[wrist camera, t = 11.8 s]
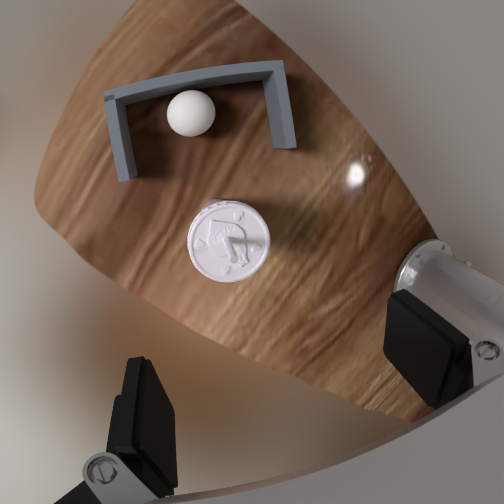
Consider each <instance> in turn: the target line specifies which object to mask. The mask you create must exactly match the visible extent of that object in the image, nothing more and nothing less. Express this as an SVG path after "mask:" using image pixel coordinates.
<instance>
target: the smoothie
mask: <svg viewBox="0 0 504 504" xmlns="http://www.w3.org/2000/svg"><path fill="white" fill-rule="evenodd" d="M269 248H270V234H269V230H268V227H267V225H266V223H265V221H264V220H263V218H262V216H261V215H260V214H259V213H258V212H257V211H256V210H255V209H254V208H252V207H250V206H249V205H247V204H245V203H241V202H238V201H225V200H222V199H214V200H211V201H209V202H207V203H206V204H205V205H204V206H203V208H202V210H201V212H200V213H199V214H198V215H197V216H196V218H195V219H194V221H193V223H192V224H191V226H190V230H189V233H188V250H189V254H190V257H191V260H192V262H193V263H194V265H195V267H196V268H197V269H198V270H199V271H200V272H201V273H202V274H204V275H205V276H207V277H208V278H210V279H213V280H216V281H220V282H235V281H239V280H243V279H245V278H247V277H249V276H251V275H252V274H253V273H255V272H256V271H257V270H258V269H259V268H260V267H261V266H262V264H263V263H264V261H265V260H266V258H267V255H268V252H269Z"/></svg>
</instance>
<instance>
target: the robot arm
mask: <svg viewBox="0 0 504 504" xmlns="http://www.w3.org/2000/svg"><path fill="white" fill-rule="evenodd" d="M471 267H472V263H471V261H469V260H467V261H465V262H461V261H459V260H457V259H455V258H454V254H453V251H452V249H451V248H450V246H449V245H448V244H447V243H446V242H444V241H442V240H439V239H428V240H425V241H423V242H421V243H419V244H418V245H417V246H415V247H414V248H413V249H412V250H411V251H410V252H409V253H408V255H407V256H406V258H405V259H404V260H403V262H402V264H401V266H400V268H399V270H398V273H397V275H396V278H395V282H394V290H393V293H392V294H391V296H390V298H389V299H388V305H387V318H386V328H385V338H384V346H383V351H384V354H385V356H386V357H387V359H388V360H389V361H390V362H391V363H392V364H393V365H394V367H395V368H396V369H397V370H398V371H399V372H400V373H401V375H402V376H403V377H404V378H405V379H406V380H407V382H408V383H409V384H410V385H411V386H412V387H413V389H414V390H415V391H416V392H417V393H418V394H419V396H420V397H421V398H422V399H423V400H424V401H425V403H426V404H427V405H428V406H430V407H433V408H434V409H435V410H436V411H434V412H432V413H430V414H429V415H427V416H425V417H423V418H422V419H420V420H418V421H416V422H414V423H412V424H410V425H408V426H406V427H405V428H403V429H401V430H399V431H396V432H394V433H392V434H390V435H388V436H386V437H384V438H382V439H380V440H377V441H375V442H373V443H371V444H369V445H366V446H364V447H362V448H359V449H357V450H354V451H352V452H349V453H347V454H344V455H341V456H339V457H336V458H333V459H331V460H328V461H325V462H322V463H319V464H316V465H313V466H310V467H307V468H304V469H301V470H297V471H294V472H290V473H287V474H283V475H280V476H276V477H272V478H268V479H264V480H260V481H255V482H251V483H247V484H241V485H237V486H232V487H227V488H221V489H216V490H209V491H203V492H196V493H189V494H183V495H176V496H171V495H174V488H176V487H178V479H177V462H176V441H175V414H174V409H173V406H172V404H171V402H170V401H169V398H168V396H167V394H166V393H165V390H164V388H163V386H162V384H161V382H160V380H159V378H158V376H157V374H156V372H155V369H154V367H153V365H152V363H151V361H150V360H149V359H147V360H146V359H145V358H144V357H143V356H141V357H136V358H129V359H128V361H127V366H126V372H125V377H124V382H123V387H122V392H121V395H117V396H116V397H115V400H114V406H113V411H112V417H111V422H110V429H109V435H108V441H107V449H106V453H105V452H102V453H98V454H95V455H93V456H91V457H90V458H89V459H88V460H87V461H86V463H85V465H84V467H83V477H84V481H83V482H81V483H80V484H79V485H78V486H76V487H75V488H74V489H72V490H71V491H70V492H68V493H67V494H66V495H65V496H63V497H62V498H61V499H59V500H58V501H57V502H55V503H54V504H504V286H502V285H501V284H499V283H497V282H495V281H494V280H492V279H490V278H488V277H487V276H485V275H483V274H481V273H480V272H478V271H476V270H474V269H473V268H471ZM165 496H169V497H165Z"/></svg>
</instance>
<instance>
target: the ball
mask: <svg viewBox="0 0 504 504" xmlns="http://www.w3.org/2000/svg"><path fill="white" fill-rule="evenodd" d="M214 118H215V106H214V104H213V102H212V100H211V99H210V98H209V97H208V96H207V95H206V94H204V93H203V92H200V91H196V90H188V91H184V92H182V93H180V94H178V95H177V96H175V97H174V98H173V100H172V101H171V102H170V104H169V106H168V110H167V119H168V122H169V124H170V126H171V128H172V129H173V130H174V131H175V132H177V133H178V134H181V135H183V136H197V135H200V134H202V133H204V132H205V131H206V130H208V129H209V127H210V126H211V125H212V123H213V121H214Z"/></svg>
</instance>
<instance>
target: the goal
mask: <svg viewBox="0 0 504 504" xmlns="http://www.w3.org/2000/svg"><path fill="white" fill-rule="evenodd" d="M259 80H262V82H263V88H264V94H265V100H266V106H267V112H268V118H269V125H270V131H271V137H272V144H273V148H283V149H287V148H295V147H297V146H296V139H295V132H294V125H293V119H292V112H291V106H290V100H289V94H288V88H287V82H286V76H285V71H284V65H283V60H277V61H262V62H250V63H240V64H231V65H223V66H216V67H209V68H202V69H196V70H191V71H185V72H180V73H175V74H170V75H165V76H161V77H156V78H152V79H148V80H144V81H140V82H136V83H132V84H128V85H125V86H121V87H118V88H114V89H111V90H108V91H105V92H103V95H104V102H105V109H106V115H107V122H108V128H109V134H110V139H111V145H112V150H113V155H114V160H115V165H116V170H117V175H118V179H119V183H120V182H123V181H127V180H130V179H132V178H134V177H135V176H137V175H138V174H137V169H136V164H135V159H134V154H133V149H132V143H131V138H130V132H129V127H128V121H127V115H126V108H125V105H128V104H132V103H136V102H140V101H143V100H147V99H152V98H156V97H160V96H165V95H169V94H174V93H179V92H184V91H188V90H194V89H200V88H206V87H212V86H218V85H225V84H233V83H241V82H249V81H259Z"/></svg>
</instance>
